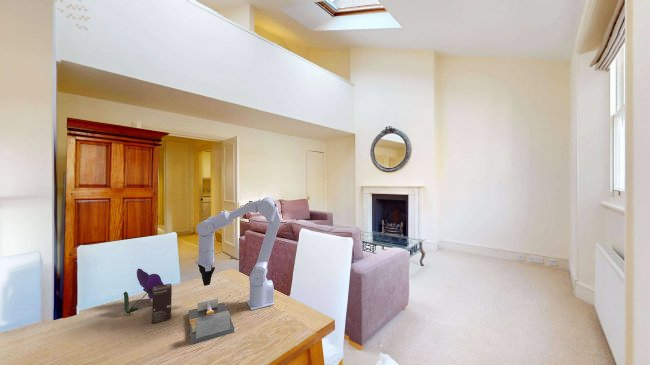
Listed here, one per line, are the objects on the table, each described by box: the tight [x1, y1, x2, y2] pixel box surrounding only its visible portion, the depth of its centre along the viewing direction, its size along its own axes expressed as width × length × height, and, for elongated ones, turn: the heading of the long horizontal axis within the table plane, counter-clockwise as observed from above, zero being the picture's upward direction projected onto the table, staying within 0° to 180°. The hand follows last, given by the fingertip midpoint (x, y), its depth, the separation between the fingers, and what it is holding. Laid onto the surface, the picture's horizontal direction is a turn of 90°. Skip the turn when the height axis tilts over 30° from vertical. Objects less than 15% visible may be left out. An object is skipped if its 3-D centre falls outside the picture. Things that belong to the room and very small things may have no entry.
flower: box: [123, 268, 165, 314], centre depth 100 cm, size 15×15×14 cm
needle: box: [190, 310, 214, 324], centre depth 89 cm, size 1×8×2 cm, turn 121°
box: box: [151, 283, 173, 324], centre depth 93 cm, size 6×4×12 cm
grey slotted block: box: [196, 296, 219, 312], centre depth 94 cm, size 8×7×3 cm
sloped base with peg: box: [187, 301, 235, 345], centre depth 91 cm, size 20×13×6 cm, turn 31°
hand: (206, 283), depth 102 cm, fingers open, 4 cm apart
